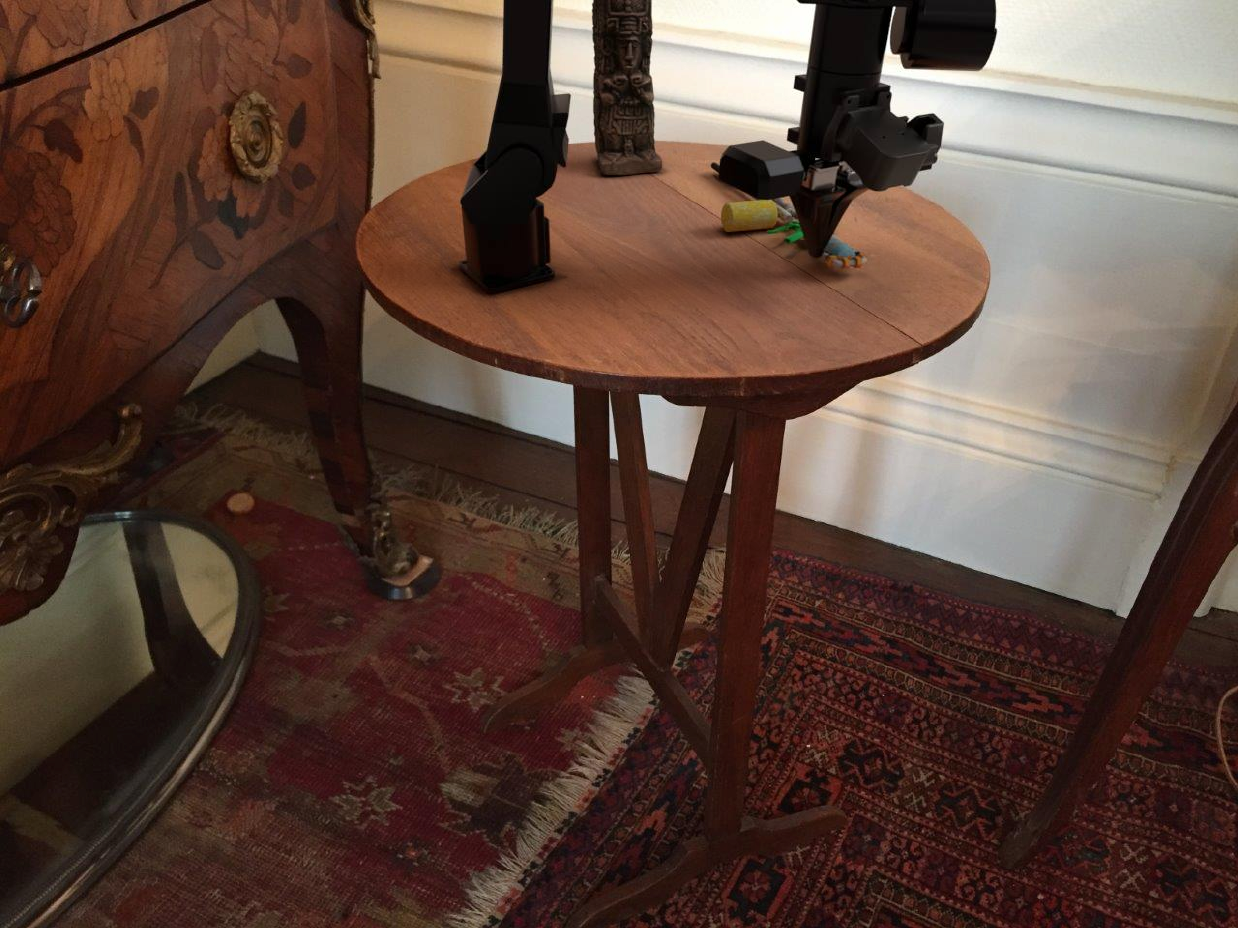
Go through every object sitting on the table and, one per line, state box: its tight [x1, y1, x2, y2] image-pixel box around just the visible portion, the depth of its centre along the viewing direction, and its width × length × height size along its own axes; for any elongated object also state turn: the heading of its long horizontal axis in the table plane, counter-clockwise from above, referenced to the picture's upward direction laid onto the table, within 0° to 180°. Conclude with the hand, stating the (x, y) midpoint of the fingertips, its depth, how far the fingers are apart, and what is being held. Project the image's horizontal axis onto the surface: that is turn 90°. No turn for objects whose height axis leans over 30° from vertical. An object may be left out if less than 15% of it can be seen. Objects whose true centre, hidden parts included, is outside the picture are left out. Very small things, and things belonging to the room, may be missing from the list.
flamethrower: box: [710, 162, 868, 271], centre depth 93 cm, size 29×3×10 cm
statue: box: [591, 0, 663, 176], centre depth 102 cm, size 7×7×20 cm
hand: (814, 257), depth 83 cm, fingers closed
